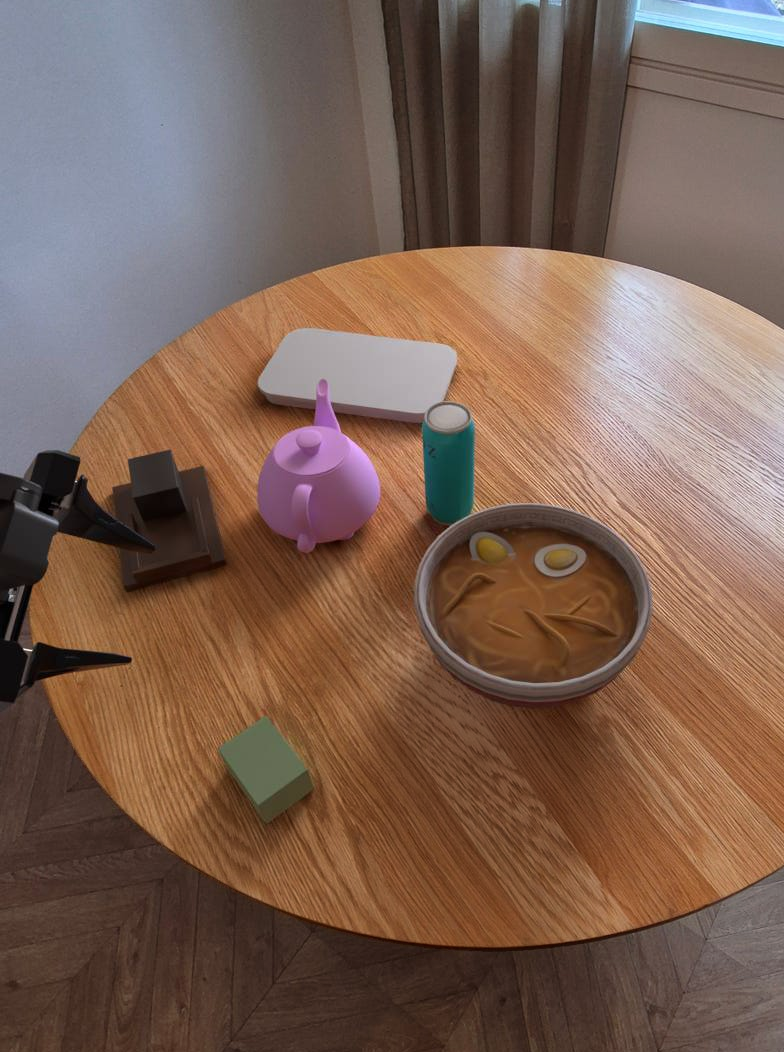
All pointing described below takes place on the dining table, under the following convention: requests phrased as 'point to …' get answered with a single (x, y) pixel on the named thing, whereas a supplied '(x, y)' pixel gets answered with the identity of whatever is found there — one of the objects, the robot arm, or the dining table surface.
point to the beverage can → (448, 461)
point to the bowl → (532, 604)
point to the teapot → (317, 482)
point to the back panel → (167, 521)
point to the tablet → (359, 373)
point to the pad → (266, 769)
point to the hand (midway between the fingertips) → (142, 604)
